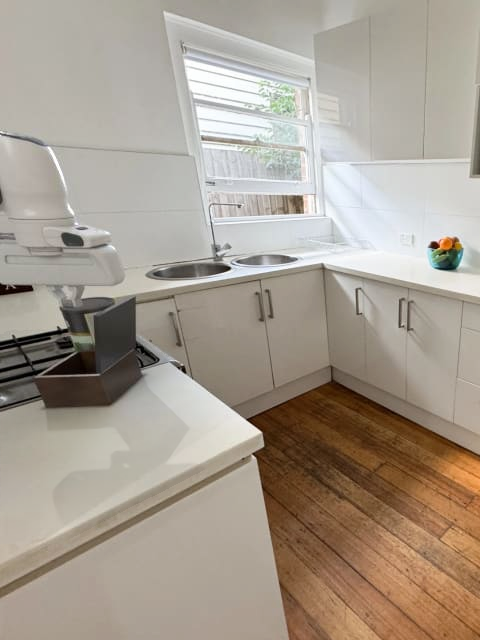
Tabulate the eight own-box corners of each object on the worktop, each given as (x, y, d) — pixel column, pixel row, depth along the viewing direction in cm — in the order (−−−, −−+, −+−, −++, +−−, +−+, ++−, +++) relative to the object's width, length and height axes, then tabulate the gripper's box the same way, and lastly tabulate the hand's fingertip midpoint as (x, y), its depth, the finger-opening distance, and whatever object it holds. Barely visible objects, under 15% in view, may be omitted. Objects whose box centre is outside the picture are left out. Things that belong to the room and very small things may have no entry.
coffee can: (73, 368, 90) (52, 312, 84) (84, 351, 98) (66, 299, 93) (126, 360, 94) (109, 306, 89) (132, 345, 103) (117, 294, 97)
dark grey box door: (93, 315, 69) (98, 316, 69) (131, 295, 81) (135, 296, 81) (96, 373, 74) (100, 374, 74) (132, 346, 85) (136, 347, 85)
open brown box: (45, 407, 75) (32, 377, 72) (87, 377, 87) (77, 350, 84) (109, 405, 77) (99, 375, 74) (142, 375, 88) (134, 348, 85)
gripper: (-34, 234, 64) (-3, 311, 70) (98, 238, 67) (118, 312, 72) (-2, 229, 70) (25, 301, 76) (119, 233, 73) (136, 302, 78)
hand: (72, 306), depth 74 cm, fingers closed
